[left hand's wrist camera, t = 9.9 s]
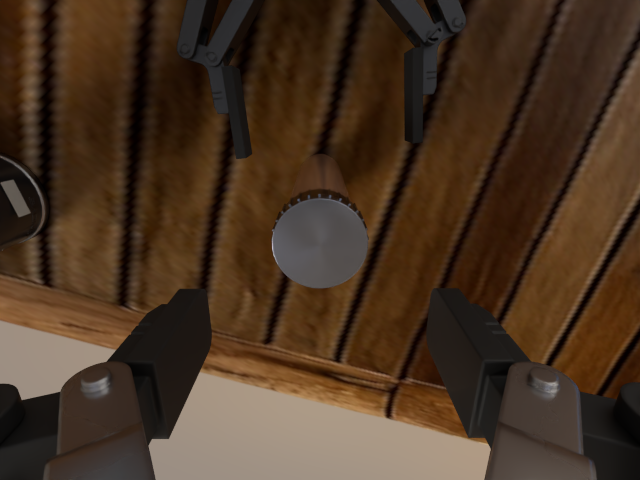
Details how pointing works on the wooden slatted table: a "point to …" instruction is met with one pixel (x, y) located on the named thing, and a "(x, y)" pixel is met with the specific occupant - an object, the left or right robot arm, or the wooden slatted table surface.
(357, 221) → the lid
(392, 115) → the wooden slatted table surface
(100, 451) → the left robot arm
